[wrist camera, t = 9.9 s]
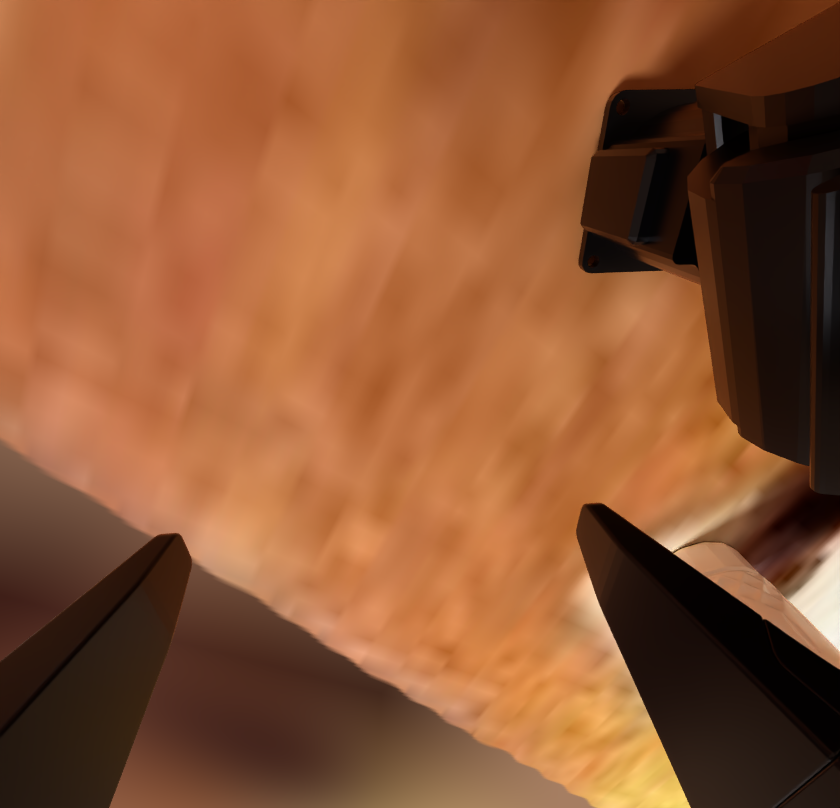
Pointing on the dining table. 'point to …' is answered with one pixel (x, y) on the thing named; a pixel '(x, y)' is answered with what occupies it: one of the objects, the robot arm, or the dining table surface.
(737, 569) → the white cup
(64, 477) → the dining table surface
